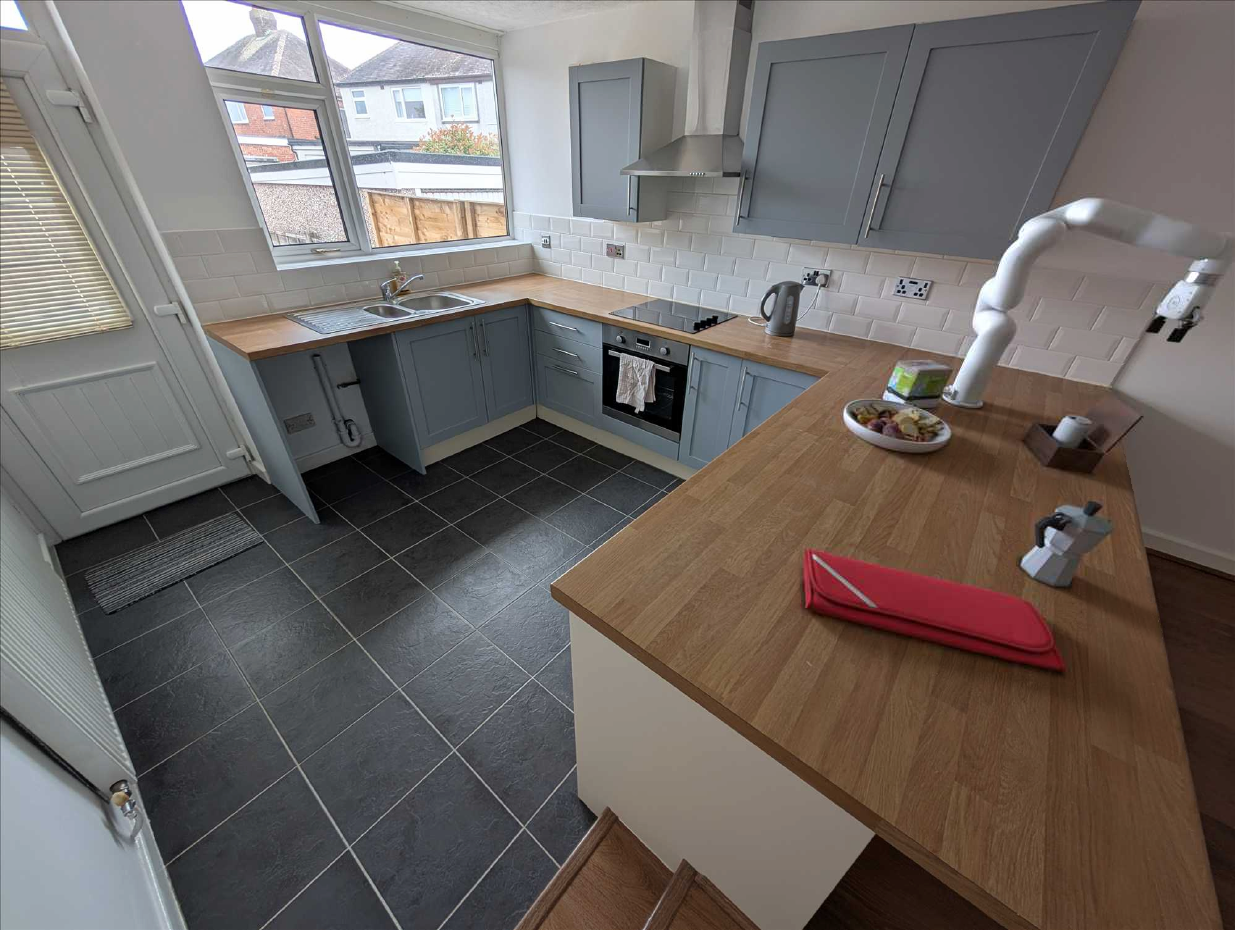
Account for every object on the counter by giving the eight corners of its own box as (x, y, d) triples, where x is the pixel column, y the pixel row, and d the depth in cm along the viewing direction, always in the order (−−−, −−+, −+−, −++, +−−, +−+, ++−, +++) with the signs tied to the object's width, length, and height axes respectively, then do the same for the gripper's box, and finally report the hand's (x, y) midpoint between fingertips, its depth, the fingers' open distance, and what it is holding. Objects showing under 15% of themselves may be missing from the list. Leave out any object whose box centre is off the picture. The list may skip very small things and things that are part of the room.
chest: (1046, 466, 137) (1058, 446, 134) (1022, 440, 150) (1033, 421, 147) (1091, 473, 135) (1105, 454, 131) (1063, 446, 148) (1075, 428, 144)
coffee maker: (1056, 557, 103) (1106, 490, 94) (1091, 588, 96) (1149, 519, 86) (991, 556, 103) (1034, 489, 93) (1021, 587, 95) (1072, 517, 86)
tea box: (902, 411, 164) (918, 370, 156) (881, 398, 172) (896, 360, 164) (936, 407, 168) (954, 368, 160) (914, 396, 176) (930, 358, 168)
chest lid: (1141, 415, 124) (1144, 416, 124) (1106, 391, 137) (1109, 392, 137) (1104, 452, 131) (1107, 453, 131) (1075, 426, 144) (1077, 427, 144)
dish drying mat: (1062, 677, 78) (1075, 663, 76) (805, 613, 87) (810, 599, 85) (1022, 605, 91) (1033, 592, 89) (801, 556, 100) (806, 543, 98)
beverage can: (1043, 446, 146) (1065, 411, 139) (1069, 454, 143) (1093, 418, 136) (1042, 454, 142) (1065, 418, 135) (1069, 462, 138) (1094, 426, 132)
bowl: (847, 404, 167) (855, 383, 163) (944, 428, 155) (955, 406, 150) (832, 438, 145) (840, 415, 141) (944, 469, 133) (956, 445, 128)
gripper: (1165, 272, 145) (1130, 328, 155) (1208, 283, 131) (1166, 344, 141) (1195, 275, 144) (1157, 331, 153) (1241, 286, 130) (1196, 347, 139)
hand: (1161, 337), depth 147 cm, fingers open, 9 cm apart
